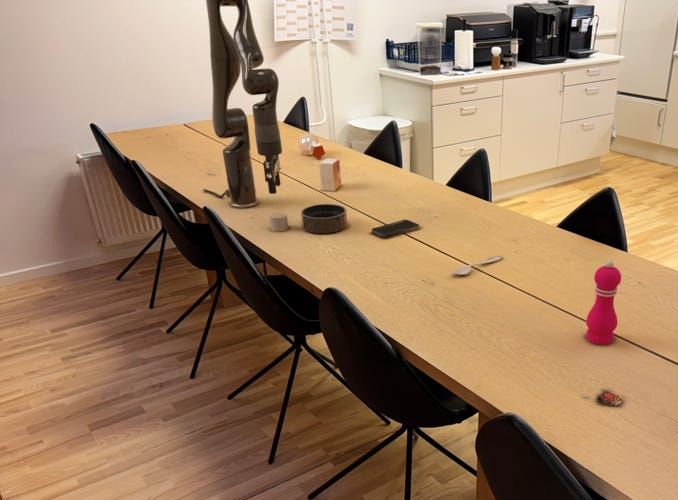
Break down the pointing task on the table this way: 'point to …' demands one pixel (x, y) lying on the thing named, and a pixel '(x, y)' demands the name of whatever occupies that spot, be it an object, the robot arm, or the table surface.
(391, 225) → the phone
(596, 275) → the pepper mill
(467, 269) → the spoon
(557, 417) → the table surface
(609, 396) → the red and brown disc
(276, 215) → the grey short cylinder
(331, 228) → the bowl
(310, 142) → the potion bottle
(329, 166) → the small box
